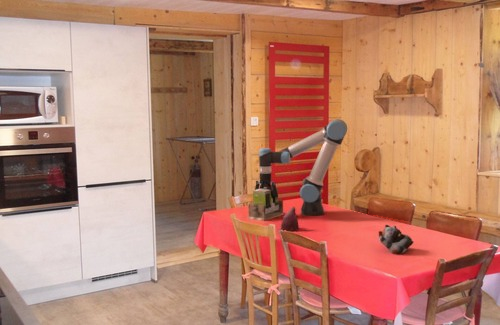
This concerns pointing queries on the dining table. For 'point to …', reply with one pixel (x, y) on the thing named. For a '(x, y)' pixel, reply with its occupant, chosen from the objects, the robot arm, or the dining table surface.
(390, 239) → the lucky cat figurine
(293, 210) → the vegetable
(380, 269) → the dining table surface
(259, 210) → the holder stand
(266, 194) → the tea box
